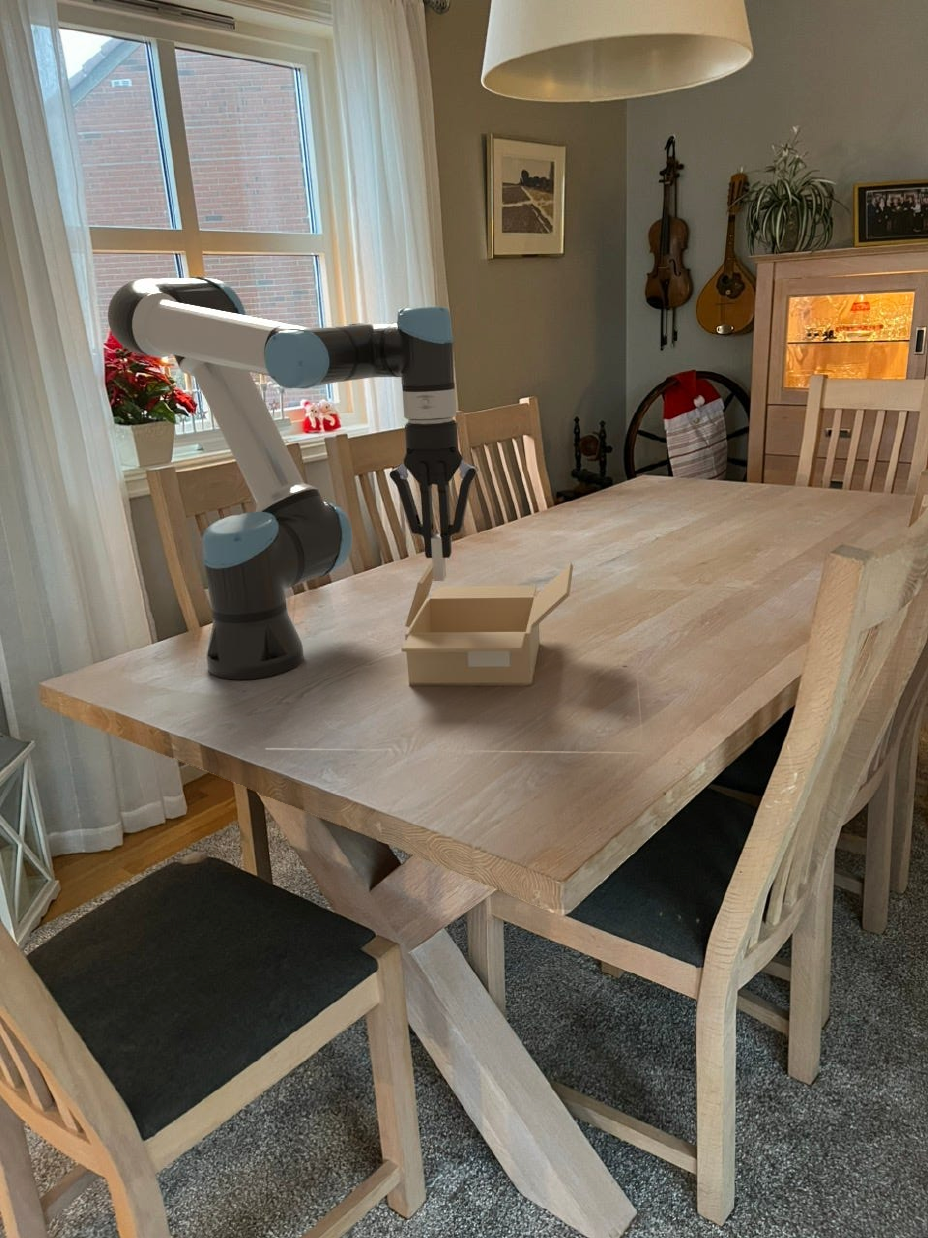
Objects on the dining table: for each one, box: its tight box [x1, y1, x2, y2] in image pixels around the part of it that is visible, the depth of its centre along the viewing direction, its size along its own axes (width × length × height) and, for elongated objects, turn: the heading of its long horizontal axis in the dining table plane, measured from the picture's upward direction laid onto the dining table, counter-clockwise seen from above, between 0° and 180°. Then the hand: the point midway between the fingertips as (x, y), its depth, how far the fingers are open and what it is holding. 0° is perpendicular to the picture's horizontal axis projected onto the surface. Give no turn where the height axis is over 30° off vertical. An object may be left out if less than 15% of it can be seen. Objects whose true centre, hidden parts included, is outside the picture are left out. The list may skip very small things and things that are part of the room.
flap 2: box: [531, 562, 574, 628], centre depth 144 cm, size 1×16×7 cm
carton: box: [401, 585, 541, 687], centre depth 148 cm, size 18×30×8 cm, turn 172°
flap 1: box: [405, 561, 434, 628], centre depth 147 cm, size 1×16×7 cm, turn 172°
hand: (439, 578), depth 146 cm, fingers closed
